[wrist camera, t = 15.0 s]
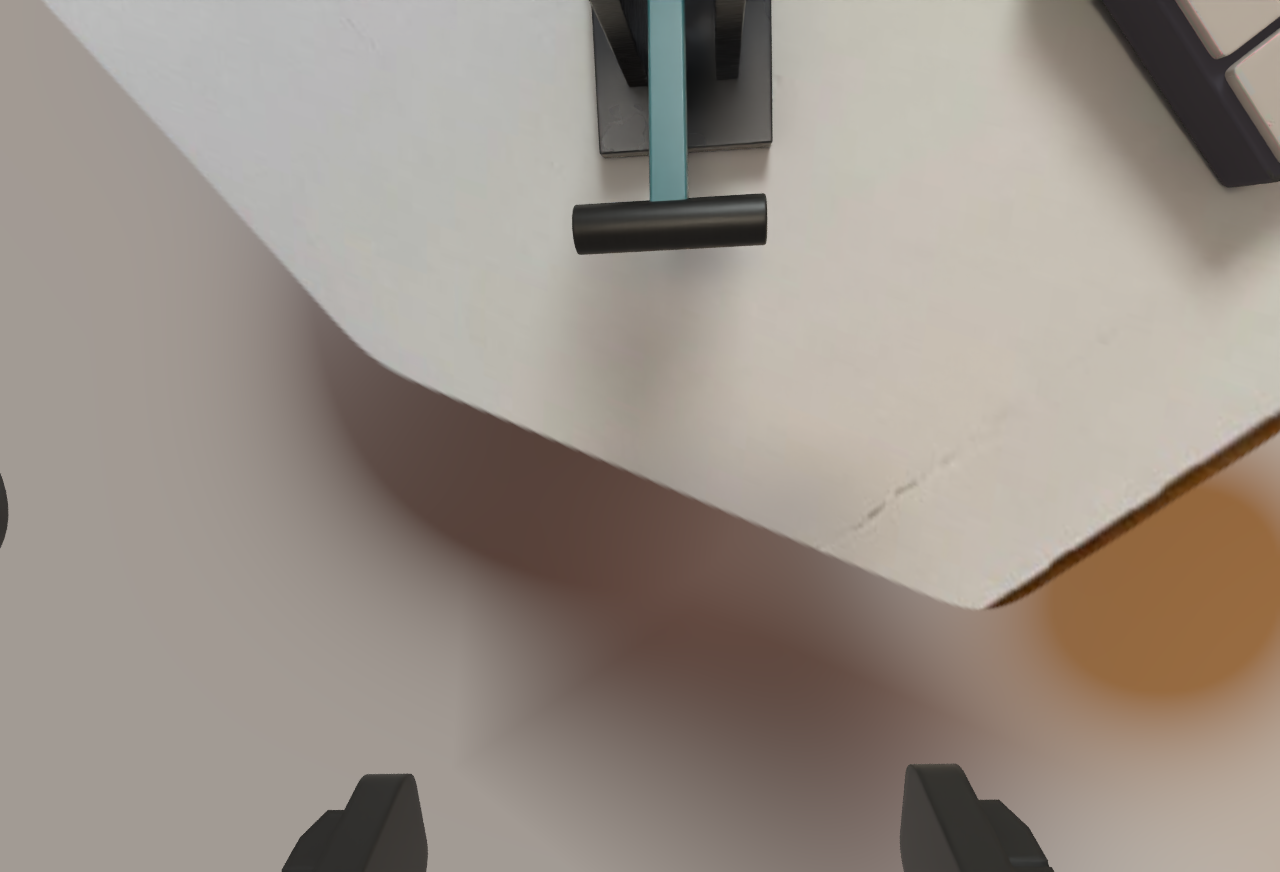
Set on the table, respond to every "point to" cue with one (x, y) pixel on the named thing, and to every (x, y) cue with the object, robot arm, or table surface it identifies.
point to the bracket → (715, 75)
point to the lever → (669, 170)
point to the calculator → (1215, 76)
